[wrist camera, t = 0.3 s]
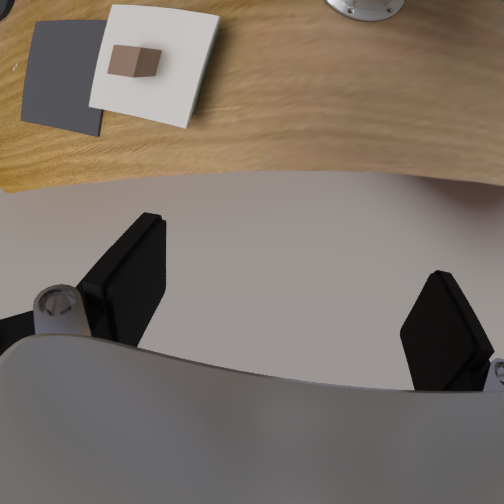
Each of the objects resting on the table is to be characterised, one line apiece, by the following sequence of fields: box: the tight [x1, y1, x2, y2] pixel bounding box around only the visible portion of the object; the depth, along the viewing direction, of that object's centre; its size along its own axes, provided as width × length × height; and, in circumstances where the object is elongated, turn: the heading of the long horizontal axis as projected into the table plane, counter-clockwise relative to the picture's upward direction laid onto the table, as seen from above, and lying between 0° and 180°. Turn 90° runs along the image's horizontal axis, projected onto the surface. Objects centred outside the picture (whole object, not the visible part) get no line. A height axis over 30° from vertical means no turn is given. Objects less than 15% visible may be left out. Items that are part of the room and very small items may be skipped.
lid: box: [89, 5, 221, 129], centre depth 30 cm, size 15×15×7 cm
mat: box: [21, 20, 107, 137], centre depth 38 cm, size 19×19×1 cm
